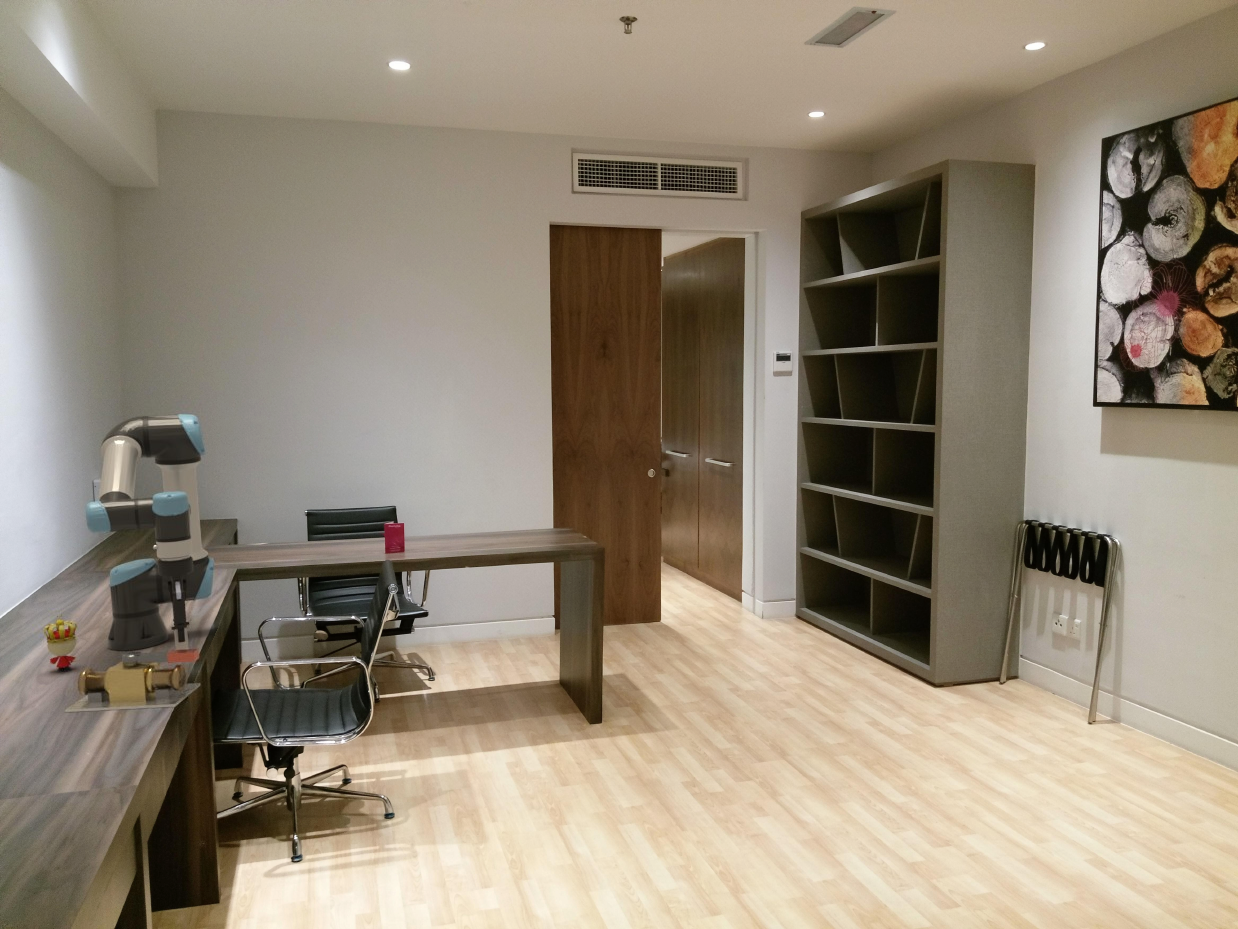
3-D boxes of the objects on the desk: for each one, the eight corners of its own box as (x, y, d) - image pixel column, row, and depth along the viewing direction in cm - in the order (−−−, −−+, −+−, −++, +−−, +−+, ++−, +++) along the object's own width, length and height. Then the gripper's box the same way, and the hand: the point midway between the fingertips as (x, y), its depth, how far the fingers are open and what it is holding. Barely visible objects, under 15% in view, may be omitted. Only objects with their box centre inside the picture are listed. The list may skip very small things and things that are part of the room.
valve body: (65, 712, 197) (62, 677, 197) (97, 690, 211) (95, 658, 211) (175, 706, 199) (172, 672, 198) (200, 685, 213) (197, 653, 212)
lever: (119, 667, 202) (118, 657, 202) (127, 661, 206) (126, 651, 206) (193, 663, 204) (192, 653, 203) (200, 657, 208) (199, 647, 207)
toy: (85, 665, 231) (80, 609, 230) (73, 674, 224) (67, 616, 223) (55, 667, 230) (50, 611, 229) (42, 676, 223) (36, 618, 222)
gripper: (156, 554, 212) (164, 649, 215) (157, 564, 201) (165, 664, 203) (190, 550, 216) (197, 644, 218) (194, 560, 204) (201, 658, 207)
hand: (182, 654), depth 211 cm, fingers closed
